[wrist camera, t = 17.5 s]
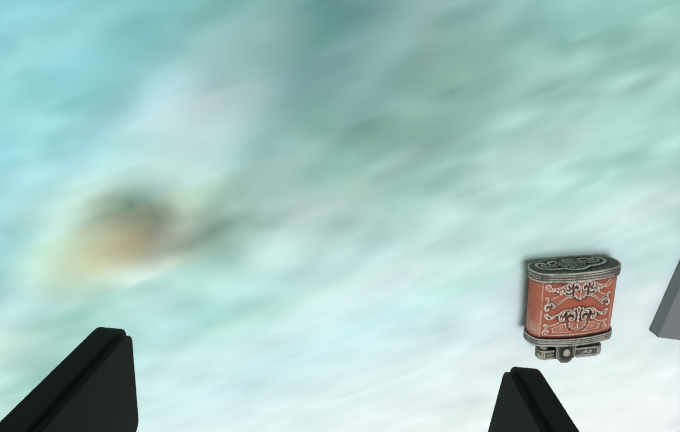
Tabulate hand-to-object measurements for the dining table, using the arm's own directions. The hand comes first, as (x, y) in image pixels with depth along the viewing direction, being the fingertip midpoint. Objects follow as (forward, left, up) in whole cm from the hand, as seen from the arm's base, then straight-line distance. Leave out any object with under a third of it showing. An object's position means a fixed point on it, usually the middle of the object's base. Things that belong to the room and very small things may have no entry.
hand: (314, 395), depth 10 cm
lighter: (+5, +22, -26) cm, 34 cm away
